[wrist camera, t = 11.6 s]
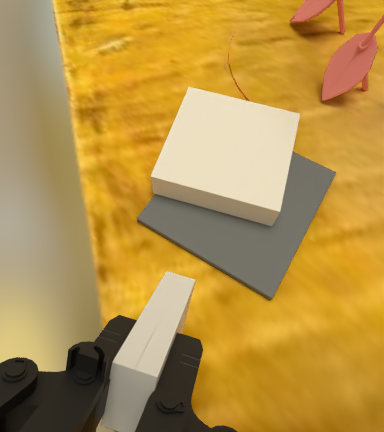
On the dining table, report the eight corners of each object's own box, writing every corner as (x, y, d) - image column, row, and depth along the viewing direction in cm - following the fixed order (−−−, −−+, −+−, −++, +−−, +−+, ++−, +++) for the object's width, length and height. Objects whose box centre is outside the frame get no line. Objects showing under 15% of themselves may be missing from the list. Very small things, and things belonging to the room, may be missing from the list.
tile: (150, 176, 26) (188, 86, 30) (152, 194, 28) (188, 108, 33) (280, 211, 25) (300, 113, 29) (271, 227, 27) (291, 134, 32)
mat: (333, 176, 30) (336, 172, 30) (270, 300, 25) (272, 298, 25) (216, 119, 33) (217, 115, 32) (137, 221, 28) (136, 218, 27)
